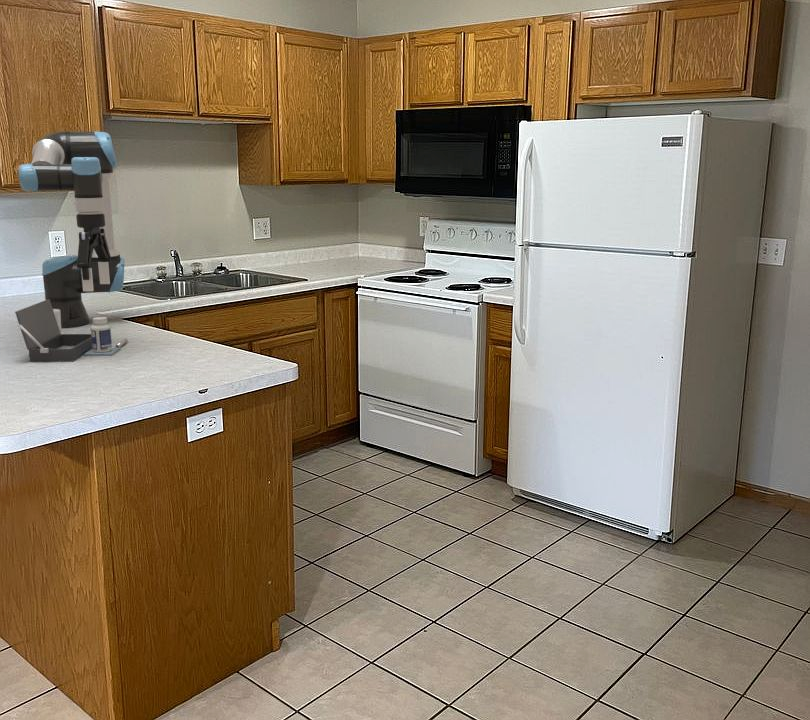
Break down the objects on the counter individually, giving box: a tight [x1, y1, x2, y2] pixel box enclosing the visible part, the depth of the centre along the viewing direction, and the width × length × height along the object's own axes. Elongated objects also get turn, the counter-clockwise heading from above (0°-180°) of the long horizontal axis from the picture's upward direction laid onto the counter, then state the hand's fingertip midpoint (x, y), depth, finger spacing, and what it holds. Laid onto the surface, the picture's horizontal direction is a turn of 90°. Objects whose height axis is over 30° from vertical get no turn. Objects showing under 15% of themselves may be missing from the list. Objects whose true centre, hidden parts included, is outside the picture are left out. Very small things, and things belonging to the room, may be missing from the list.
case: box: [14, 299, 93, 363], centre depth 237 cm, size 22×15×14 cm, turn 1°
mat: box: [83, 347, 122, 357], centre depth 239 cm, size 8×8×1 cm
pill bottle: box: [90, 316, 113, 352], centre depth 238 cm, size 5×5×10 cm
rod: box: [115, 338, 129, 348], centre depth 249 cm, size 8×1×1 cm, turn 1°
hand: (96, 287), depth 236 cm, fingers open, 13 cm apart
